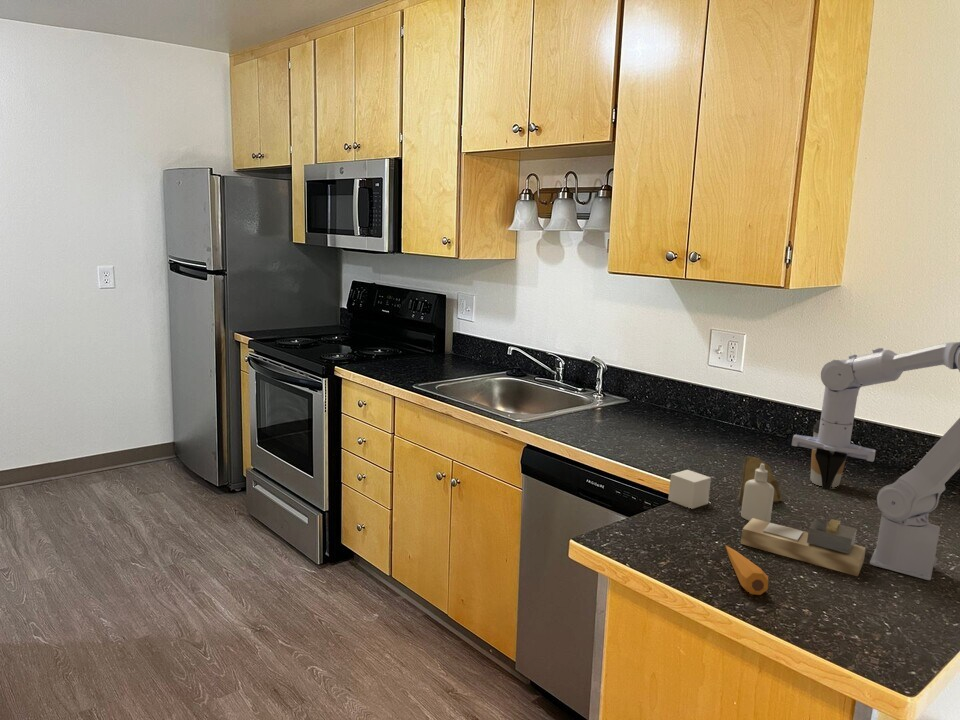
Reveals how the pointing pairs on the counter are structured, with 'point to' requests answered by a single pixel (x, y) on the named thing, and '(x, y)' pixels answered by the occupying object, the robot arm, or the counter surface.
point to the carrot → (748, 573)
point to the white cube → (689, 489)
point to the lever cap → (832, 535)
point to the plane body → (800, 546)
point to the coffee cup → (815, 468)
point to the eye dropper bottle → (758, 497)
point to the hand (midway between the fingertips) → (826, 488)
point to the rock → (749, 474)
